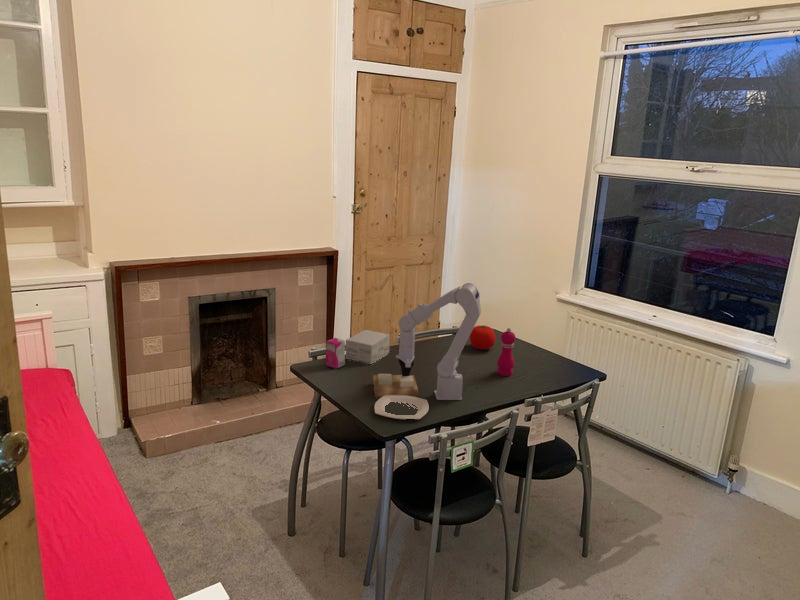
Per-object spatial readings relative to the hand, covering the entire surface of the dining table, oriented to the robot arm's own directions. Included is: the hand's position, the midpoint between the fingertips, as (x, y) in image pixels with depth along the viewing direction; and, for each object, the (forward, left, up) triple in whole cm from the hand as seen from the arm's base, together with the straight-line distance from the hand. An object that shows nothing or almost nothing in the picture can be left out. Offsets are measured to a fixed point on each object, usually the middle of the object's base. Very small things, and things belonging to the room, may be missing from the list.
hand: (405, 378), depth 230 cm
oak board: (+4, +1, -5) cm, 6 cm away
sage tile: (+8, +1, -1) cm, 8 cm away
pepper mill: (-44, -17, -5) cm, 47 cm away
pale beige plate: (+3, +18, -5) cm, 19 cm away
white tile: (0, +4, -1) cm, 4 cm away
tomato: (-41, -48, -5) cm, 63 cm away
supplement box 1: (+27, -24, -5) cm, 36 cm away
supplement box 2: (+13, -36, -5) cm, 38 cm away
